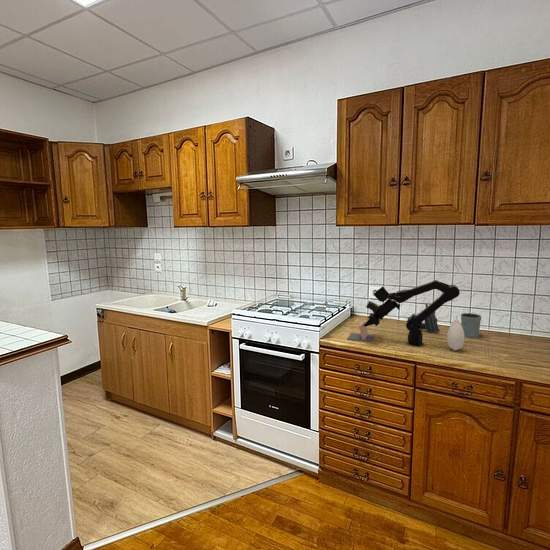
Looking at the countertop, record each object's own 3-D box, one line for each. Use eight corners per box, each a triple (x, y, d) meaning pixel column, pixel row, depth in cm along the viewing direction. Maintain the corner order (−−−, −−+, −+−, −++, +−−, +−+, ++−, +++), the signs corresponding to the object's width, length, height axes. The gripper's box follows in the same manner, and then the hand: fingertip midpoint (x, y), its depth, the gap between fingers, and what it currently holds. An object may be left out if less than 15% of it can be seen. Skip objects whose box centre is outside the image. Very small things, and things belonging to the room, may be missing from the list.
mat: (374, 336, 199) (374, 335, 199) (371, 342, 188) (371, 341, 188) (351, 333, 204) (351, 332, 204) (347, 339, 193) (347, 338, 193)
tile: (368, 334, 199) (365, 320, 199) (365, 339, 190) (362, 325, 190) (365, 334, 200) (361, 321, 200) (362, 339, 191) (358, 325, 191)
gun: (408, 305, 213) (433, 302, 204) (414, 332, 212) (440, 330, 203) (406, 306, 211) (432, 303, 202) (413, 333, 210) (439, 331, 201)
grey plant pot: (478, 334, 200) (479, 313, 199) (481, 339, 191) (483, 318, 190) (458, 332, 204) (459, 312, 203) (460, 337, 195) (462, 316, 193)
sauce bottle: (462, 353, 170) (464, 317, 168) (445, 350, 175) (446, 315, 172) (464, 349, 177) (466, 314, 174) (447, 346, 181) (449, 312, 179)
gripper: (377, 294, 199) (357, 311, 204) (373, 300, 182) (351, 318, 187) (391, 308, 197) (371, 325, 202) (388, 316, 180) (365, 334, 185)
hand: (364, 325), depth 194 cm, fingers closed
